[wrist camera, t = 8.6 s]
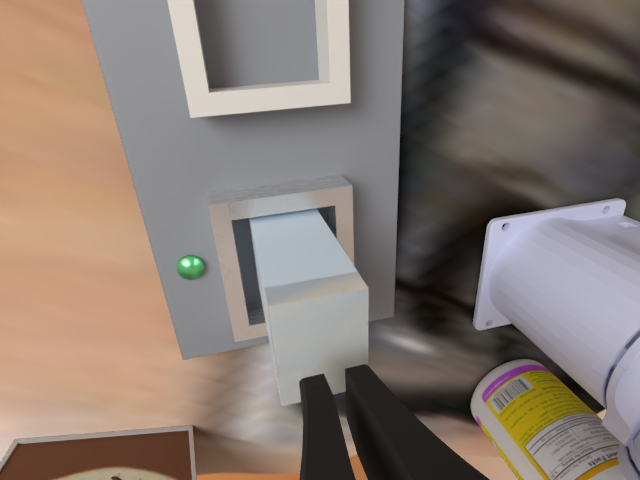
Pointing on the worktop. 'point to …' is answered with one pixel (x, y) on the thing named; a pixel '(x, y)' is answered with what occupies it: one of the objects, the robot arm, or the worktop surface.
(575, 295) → the robot arm
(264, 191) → the port
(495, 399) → the supplement bottle
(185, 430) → the food container
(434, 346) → the worktop surface
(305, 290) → the plug
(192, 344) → the panel
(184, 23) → the frame
